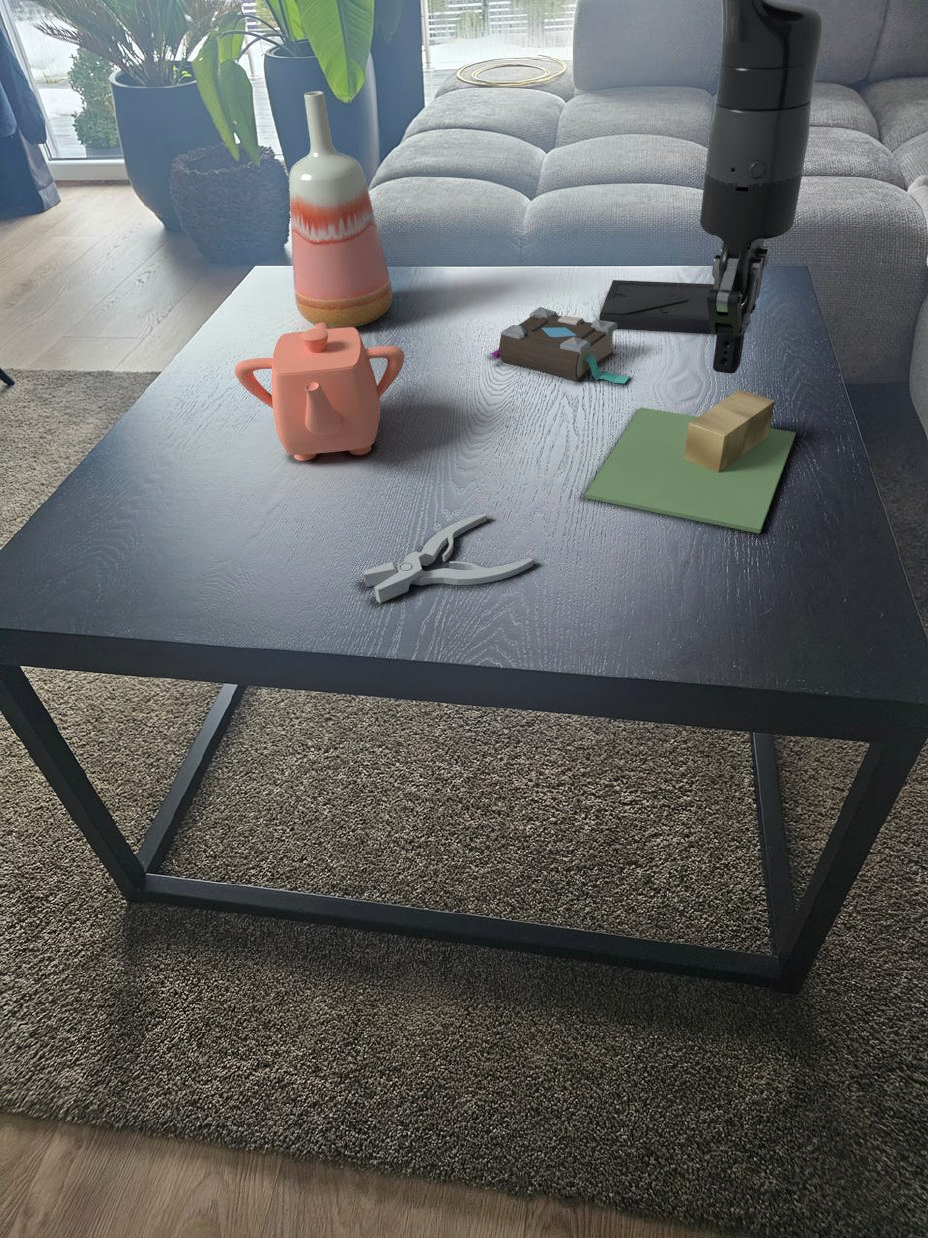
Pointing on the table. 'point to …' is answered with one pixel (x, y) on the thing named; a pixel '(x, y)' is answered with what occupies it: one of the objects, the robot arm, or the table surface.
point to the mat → (690, 474)
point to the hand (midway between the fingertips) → (725, 369)
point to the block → (728, 430)
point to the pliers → (410, 571)
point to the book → (559, 345)
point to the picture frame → (658, 306)
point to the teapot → (323, 390)
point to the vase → (334, 233)
